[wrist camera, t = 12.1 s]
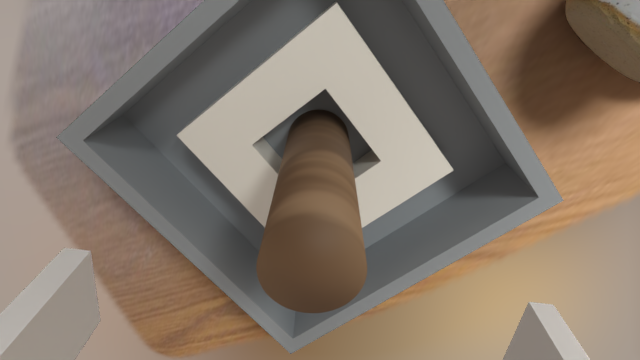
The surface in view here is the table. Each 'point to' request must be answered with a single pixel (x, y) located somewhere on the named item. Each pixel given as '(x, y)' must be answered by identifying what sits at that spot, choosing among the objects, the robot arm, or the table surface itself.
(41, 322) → the robot arm
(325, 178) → the walnut peg
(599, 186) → the table surface
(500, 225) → the grey box
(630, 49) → the ceramic mug
